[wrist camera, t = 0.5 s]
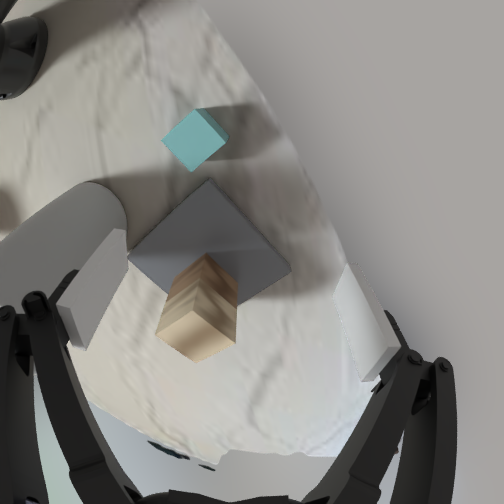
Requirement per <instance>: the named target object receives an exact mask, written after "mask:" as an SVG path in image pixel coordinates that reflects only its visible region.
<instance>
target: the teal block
mask: <svg viewBox="0 0 504 504" xmlns="http://www.w3.org/2000/svg"><path fill="white" fill-rule="evenodd" d="M229 137H230V136H229V135H228V134H227V133H226V132H225V131H224V130H223V129H222V128H221V126H220V125H219V124H218V123H217V122H216V121H215V120H214V119H213V118H212V117H211V116H210V115H209V113H208V112H207V111H206V110H205V109H204V108H200V109H194V110H193V111H192V112H191V113H190V114H189V115H187V116H186V117H185V118H184V119H183V120H182V121H181V122H180V123H179V124H178V125H177V126H175V127H174V128H173V129H172V130H171V131H170V132H169V133H168V134H167V135H166V136H165V137H164V138H163V139H162V140H161V141H162V142H163V143H164V144H165V145H166V146H167V147H168V148H169V150H170V151H171V152H172V153H173V154H174V155H175V156H176V157H177V158H178V159H179V160H180V161H181V162H182V163H183V164H184V165H185V166H186V167H187V169H188V170H189V171H190V172H192V171H194V170H195V169H196V168H197V167H198V166H199V165H200V164H201V163H203V162H204V161H205V160H206V159H207V158H208V157H210V156H211V155H212V154H213V153H214V152H215V151H217V150H218V149H219V148H220V147H221V146H223V145H224V144H225V143H226V142H227V140H228V138H229Z"/></svg>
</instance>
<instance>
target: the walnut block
mask: <svg viewBox="0 0 504 504" xmlns="http://www.w3.org/2000/svg"><path fill="white" fill-rule="evenodd" d="M199 278H201V279H202V280H203V281H204V282H206V283H207V284H208V285H209V286H210V287H211V288H212V289H213V290H215V291H216V292H217V293H218V294H219V295H220V296H221V297H223V298H224V299H225V300H226V301H227V302H228V303H230V304H231V305H232V306H233V307H234V308H235V309H237V294H238V282H236V281H235V280H234V279H233V278H232V277H231V276H230V275H229V274H228V273H227V272H226V271H225V270H224V269H223V268H222V267H221V266H220V265H218V264H217V263H216V262H215V261H214V260H213V259H212V258H211V257H210V256H209V255H208V254H207V253H205V254H204V255H202V256H201V257H200V258H198V259H197V260H196V261H195V262H193V263H192V264H191V265H189V266H188V267H187V268H186V269H184V270H183V271H182V272H181V273H179V274H178V275H177V276H176V277H174V280H173V283H172V285H171V288H170V291H169V294H168V297H167V300H166V302H167V301H169V300H170V299H171V298H173V297H174V296H176V295H177V294H178V293H180V292H181V291H182V290H184V289H185V288H186V287H188V286H189V285H190V284H192V283H193V282H195V281H196V280H197V279H199Z"/></svg>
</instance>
